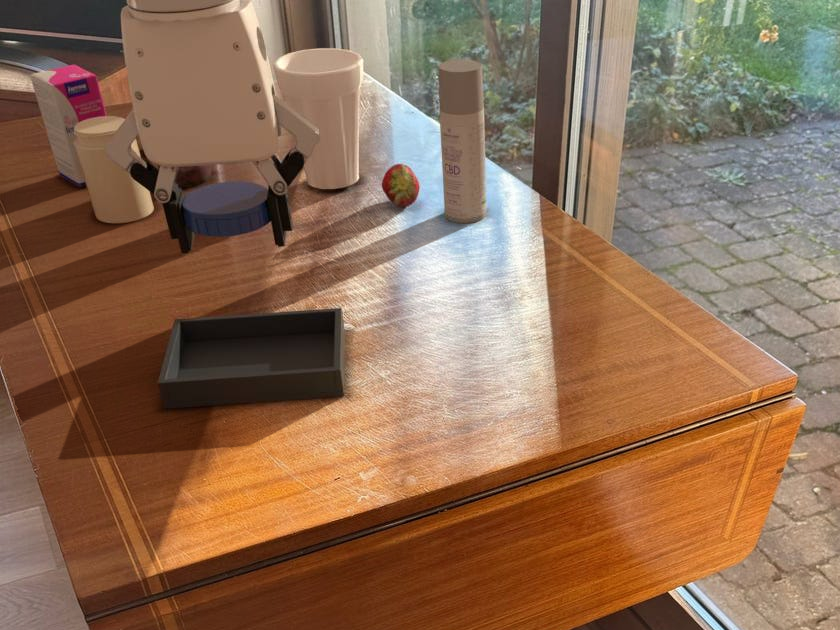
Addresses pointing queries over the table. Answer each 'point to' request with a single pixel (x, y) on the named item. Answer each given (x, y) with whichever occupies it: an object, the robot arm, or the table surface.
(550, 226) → the table surface
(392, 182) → the fruit
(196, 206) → the lid
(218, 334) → the tray
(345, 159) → the cup
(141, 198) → the jar
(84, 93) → the supplement box
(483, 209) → the container
